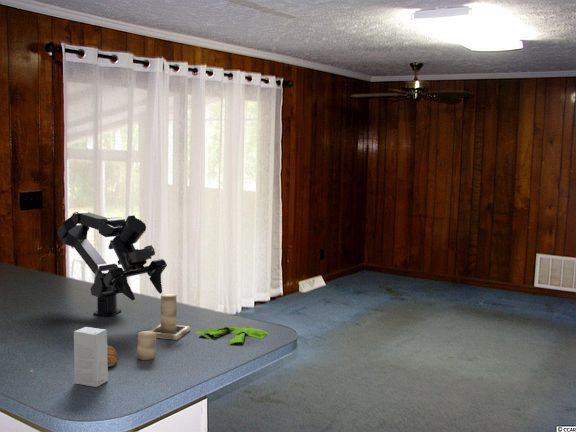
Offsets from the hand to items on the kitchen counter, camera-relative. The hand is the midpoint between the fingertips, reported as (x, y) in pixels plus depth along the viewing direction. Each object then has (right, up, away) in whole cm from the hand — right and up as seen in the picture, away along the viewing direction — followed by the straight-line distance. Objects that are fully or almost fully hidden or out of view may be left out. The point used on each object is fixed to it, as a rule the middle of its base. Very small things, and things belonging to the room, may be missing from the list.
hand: (147, 296), depth 170 cm
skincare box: (-3, -14, -40) cm, 42 cm away
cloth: (+24, -12, -6) cm, 27 cm away
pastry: (-4, -13, -27) cm, 30 cm away
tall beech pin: (+7, -10, -4) cm, 13 cm away
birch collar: (+7, -10, -4) cm, 13 cm away
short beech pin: (+5, -12, -24) cm, 27 cm away
